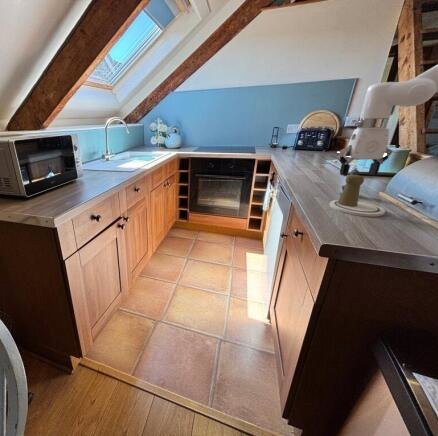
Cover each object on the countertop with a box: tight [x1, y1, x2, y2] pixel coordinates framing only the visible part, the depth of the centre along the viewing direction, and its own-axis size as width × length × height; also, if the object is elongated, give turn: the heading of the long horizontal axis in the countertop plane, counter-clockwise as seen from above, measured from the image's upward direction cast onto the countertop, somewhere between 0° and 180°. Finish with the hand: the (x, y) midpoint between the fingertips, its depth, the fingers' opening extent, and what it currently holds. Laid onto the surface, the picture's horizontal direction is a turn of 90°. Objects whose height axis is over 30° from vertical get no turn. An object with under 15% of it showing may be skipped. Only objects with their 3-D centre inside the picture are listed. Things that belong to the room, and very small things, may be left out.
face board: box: [329, 199, 386, 218], centre depth 91 cm, size 16×16×1 cm
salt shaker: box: [340, 167, 360, 195], centre depth 104 cm, size 6×6×12 cm
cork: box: [337, 174, 365, 207], centre depth 90 cm, size 6×6×11 cm
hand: (357, 175), depth 88 cm, fingers open, 9 cm apart
